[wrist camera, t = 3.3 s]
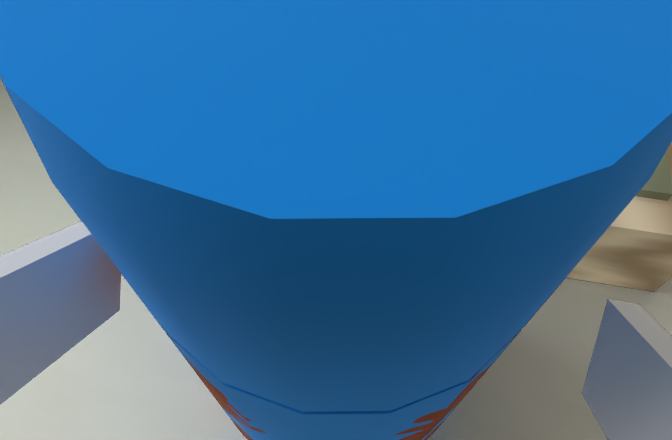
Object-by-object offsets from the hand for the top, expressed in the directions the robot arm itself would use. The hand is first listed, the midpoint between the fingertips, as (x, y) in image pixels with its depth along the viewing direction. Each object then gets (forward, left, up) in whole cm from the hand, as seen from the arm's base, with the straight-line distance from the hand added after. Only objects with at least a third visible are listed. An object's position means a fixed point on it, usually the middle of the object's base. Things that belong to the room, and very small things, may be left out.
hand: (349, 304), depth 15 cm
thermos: (-1, +2, -16) cm, 16 cm away
